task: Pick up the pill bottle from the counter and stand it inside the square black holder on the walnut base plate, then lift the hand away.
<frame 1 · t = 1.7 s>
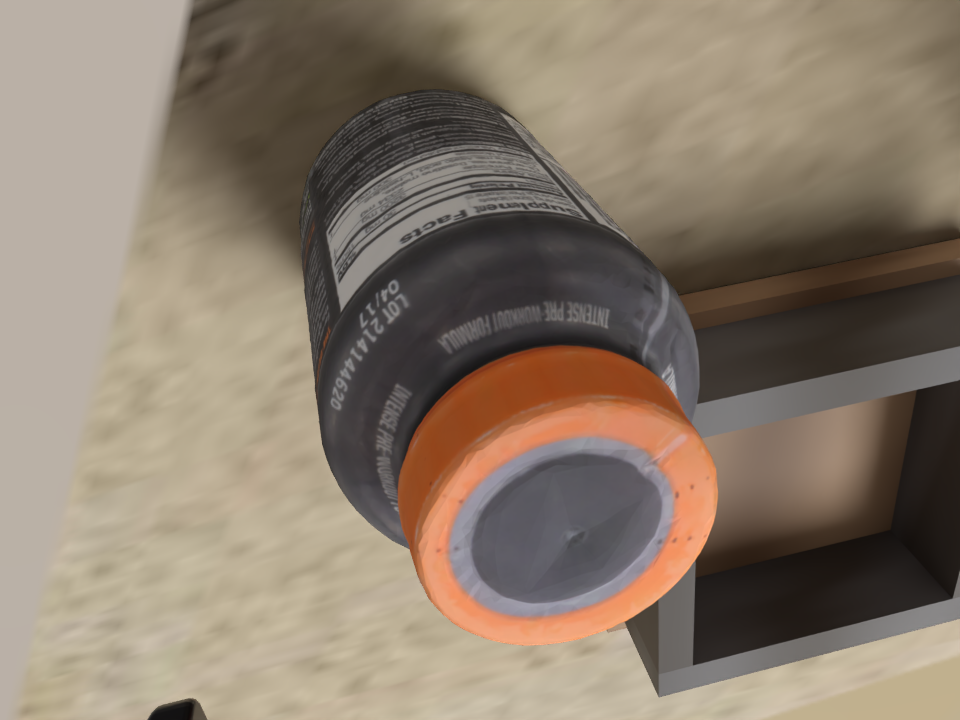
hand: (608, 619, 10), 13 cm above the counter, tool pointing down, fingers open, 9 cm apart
holder: (766, 439, 26), on the counter
pill bottle: (427, 210, 20), on the counter
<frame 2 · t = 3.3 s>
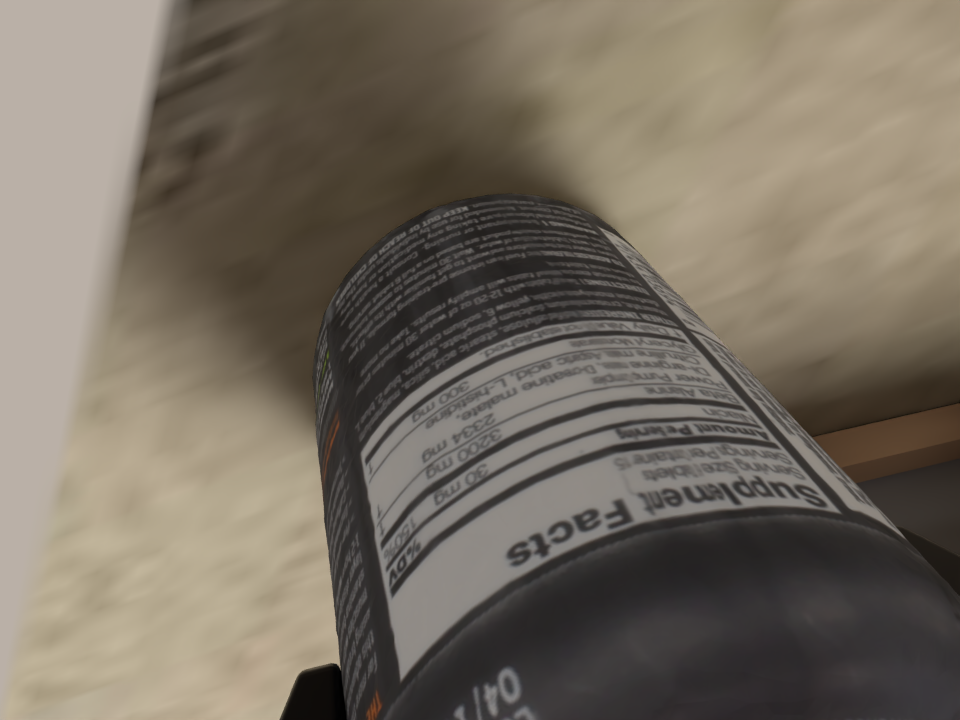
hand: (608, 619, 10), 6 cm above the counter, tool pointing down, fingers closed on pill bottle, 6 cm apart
holder: (898, 596, 21), on the counter
pill bottle: (486, 346, 15), on the counter, touching gripper
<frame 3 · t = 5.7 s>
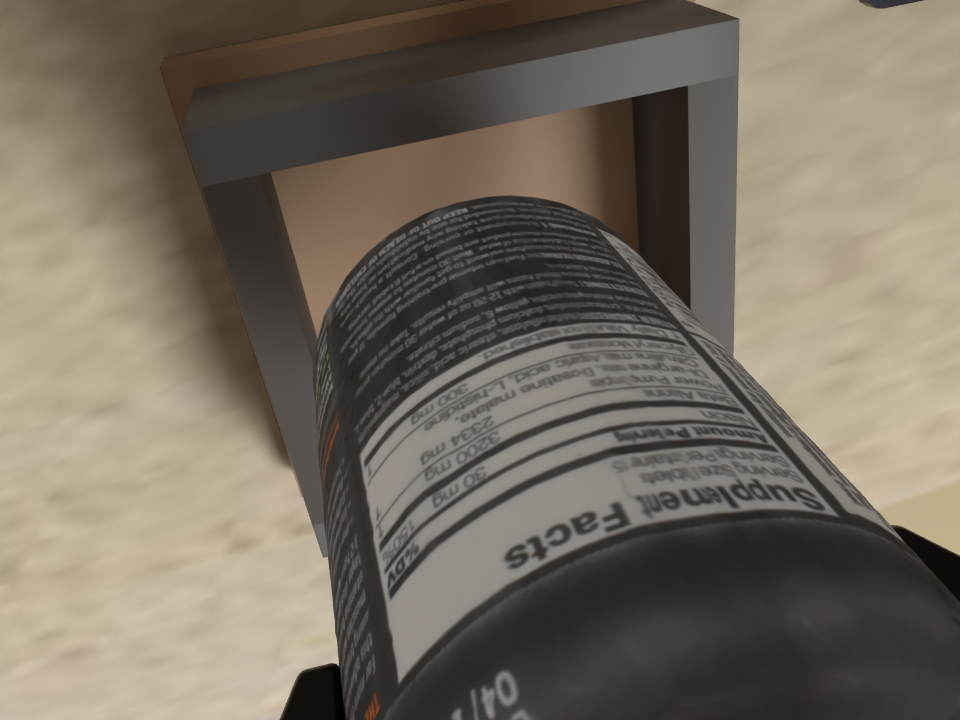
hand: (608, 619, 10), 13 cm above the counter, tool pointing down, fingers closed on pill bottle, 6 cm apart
holder: (467, 245, 21), on the counter
pill bottle: (486, 347, 15), point 7 cm above the counter, touching gripper
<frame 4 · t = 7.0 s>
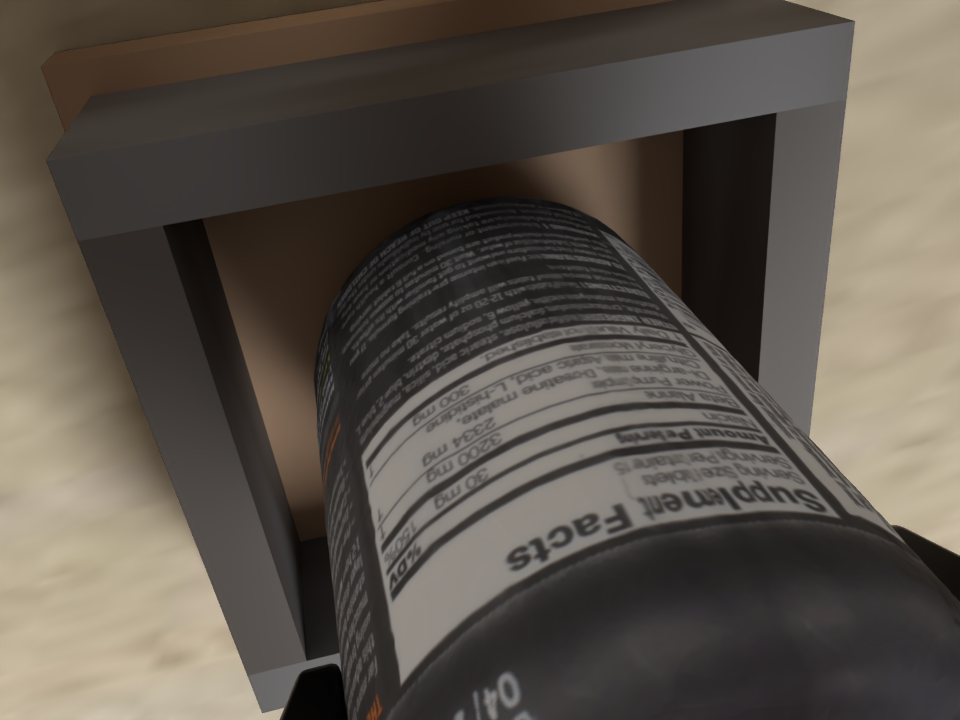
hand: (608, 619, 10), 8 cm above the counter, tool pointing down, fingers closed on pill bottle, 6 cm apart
holder: (461, 303, 16), on the counter
pill bottle: (487, 348, 15), point 2 cm above the counter, touching gripper
when the fingers open (8 cm above the counter, at t = 7.9 s): pill bottle stays where it is, resting on holder.
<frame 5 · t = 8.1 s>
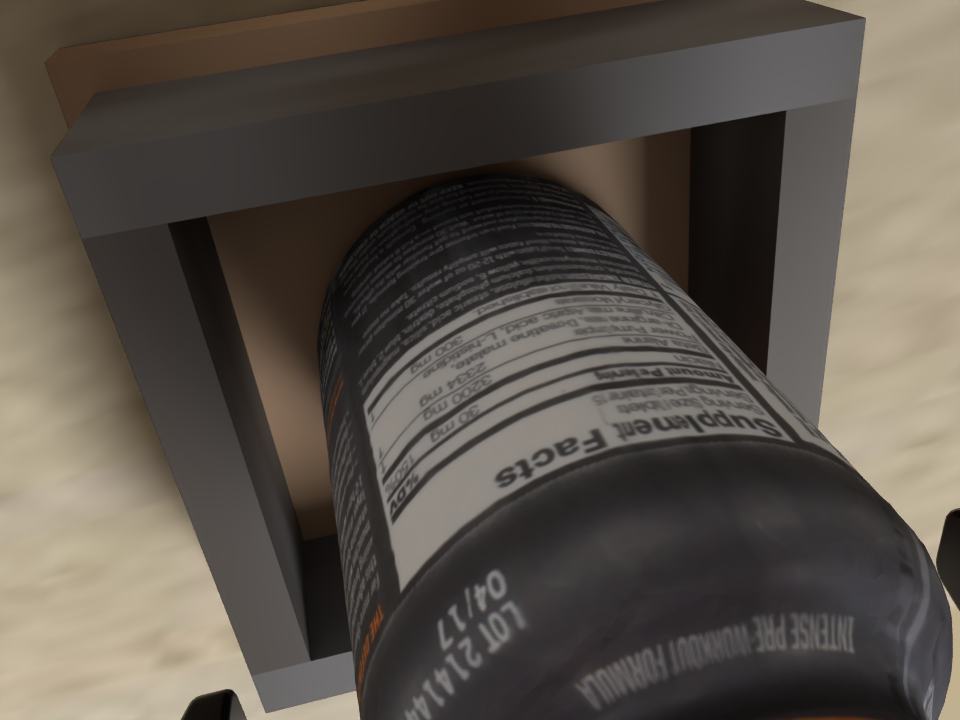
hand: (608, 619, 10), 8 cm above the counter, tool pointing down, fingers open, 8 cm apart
holder: (466, 302, 16), on the counter
pill bottle: (481, 320, 16), point 1 cm above the counter, touching holder
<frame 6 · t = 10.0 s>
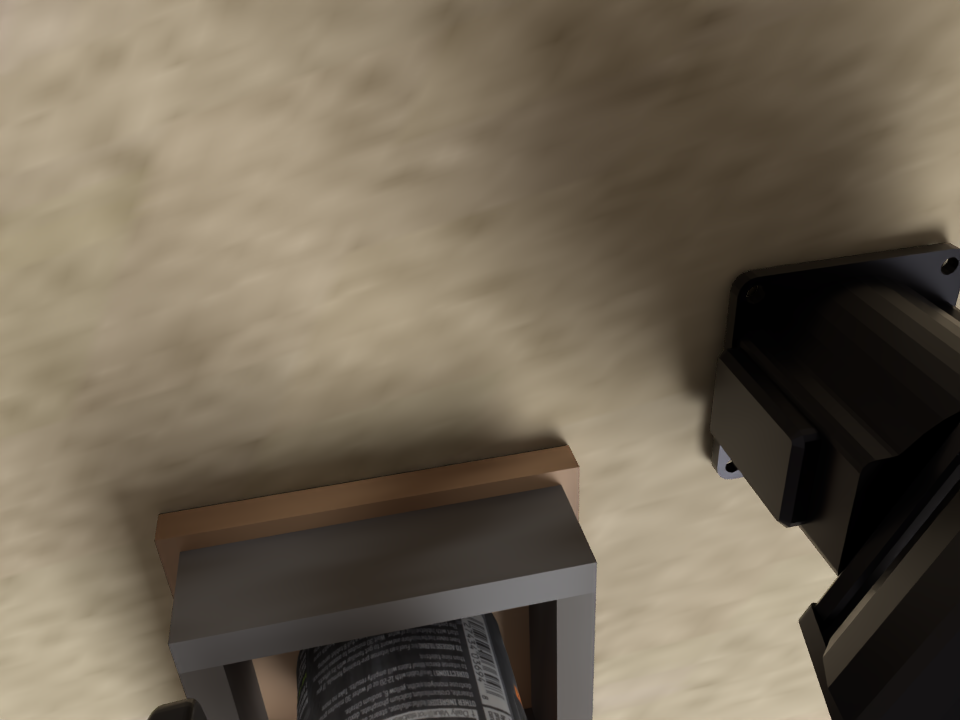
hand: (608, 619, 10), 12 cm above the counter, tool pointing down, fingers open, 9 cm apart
holder: (391, 621, 26), on the counter
pill bottle: (399, 641, 25), point 1 cm above the counter, touching holder
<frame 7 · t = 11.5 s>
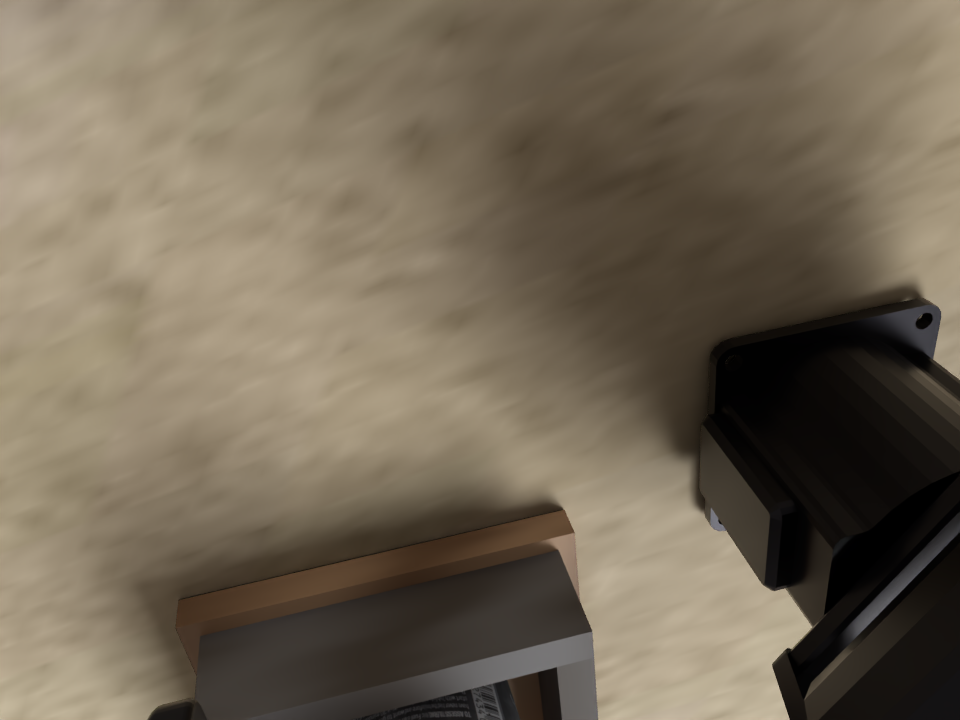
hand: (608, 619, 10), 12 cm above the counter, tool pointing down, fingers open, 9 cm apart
holder: (407, 679, 27), on the counter
pill bottle: (414, 700, 27), point 1 cm above the counter, touching holder
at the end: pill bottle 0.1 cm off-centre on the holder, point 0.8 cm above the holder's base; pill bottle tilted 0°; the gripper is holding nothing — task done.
